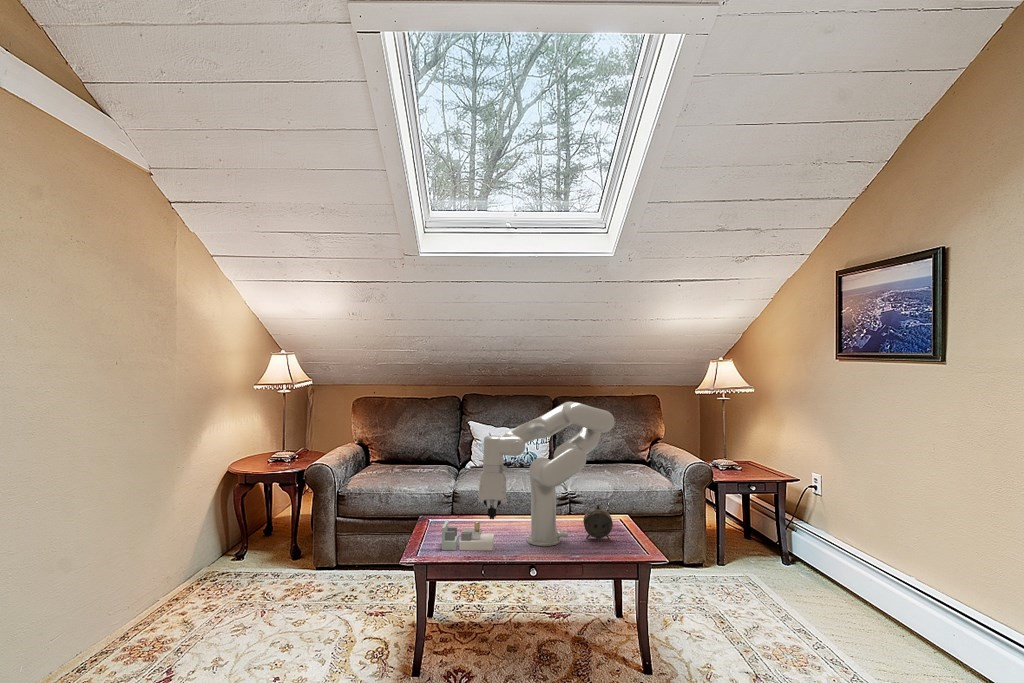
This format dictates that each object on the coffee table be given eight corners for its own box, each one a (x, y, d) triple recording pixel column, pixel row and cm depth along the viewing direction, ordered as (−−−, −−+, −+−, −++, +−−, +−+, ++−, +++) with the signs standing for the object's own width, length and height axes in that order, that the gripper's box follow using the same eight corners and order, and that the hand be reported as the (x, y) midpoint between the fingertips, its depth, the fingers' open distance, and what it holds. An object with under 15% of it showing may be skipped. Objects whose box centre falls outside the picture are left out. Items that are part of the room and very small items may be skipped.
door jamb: (459, 541, 214) (458, 520, 215) (455, 550, 204) (455, 528, 205) (446, 541, 215) (446, 520, 215) (441, 550, 205) (441, 527, 205)
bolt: (481, 535, 211) (481, 520, 211) (480, 538, 207) (480, 523, 207) (462, 535, 211) (462, 520, 212) (461, 538, 207) (461, 523, 208)
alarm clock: (611, 538, 218) (611, 496, 218) (613, 542, 212) (612, 499, 213) (583, 537, 218) (583, 495, 219) (584, 542, 213) (584, 499, 214)
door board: (494, 541, 214) (494, 527, 214) (492, 550, 204) (492, 535, 204) (462, 541, 214) (462, 527, 215) (459, 550, 204) (459, 534, 205)
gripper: (513, 467, 214) (512, 516, 213) (474, 466, 214) (473, 515, 213) (512, 471, 206) (511, 521, 205) (472, 470, 207) (470, 520, 206)
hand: (491, 518), depth 209 cm, fingers closed
